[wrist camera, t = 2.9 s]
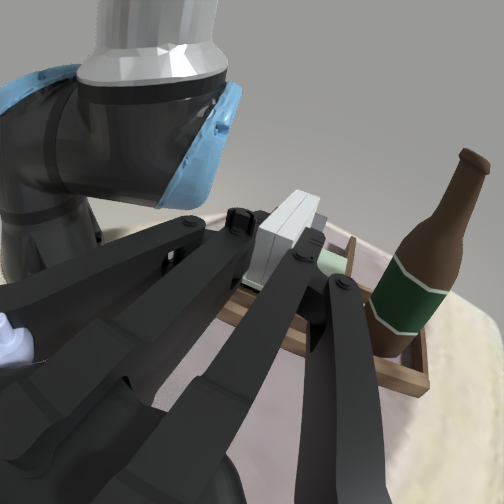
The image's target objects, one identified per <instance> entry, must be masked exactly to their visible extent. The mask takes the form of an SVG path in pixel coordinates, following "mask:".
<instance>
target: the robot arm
mask: <svg viewBox="0 0 504 504" xmlns="http://www.w3.org/2000/svg"><path fill="white" fill-rule="evenodd" d="M218 1H219V0H98V2H97V17H96V46H95V48H94V50H93V51H92V52H91V54H90V55H89V56H88V57H87V58H86V60H85V61H84V62H83V64H71V65H63V66H58V67H53V68H48V69H46V70H43V71H36V72H33V73H30V74H27V75H24V76H22V77H19V78H17V79H15V80H12V81H10V82H8V83H7V84H5V85H3V86H2V87H1V88H0V215H1V220H2V243H1V245H2V267H3V271H4V274H5V276H6V279H7V282H8V284H4V285H0V504H247V502H246V498H245V495H244V491H243V487H242V483H241V480H240V476H239V474H238V472H237V469H236V467H235V466H234V464H233V462H232V461H231V459H230V458H229V457H228V456H227V454H226V451H227V450H228V448H229V446H230V444H231V442H232V441H233V439H234V437H235V435H236V433H237V432H238V430H239V428H240V426H241V424H242V422H243V421H244V419H245V417H246V415H247V413H248V411H249V409H250V407H251V405H252V404H253V402H254V400H255V398H256V396H257V394H258V392H259V390H260V388H261V386H262V384H263V382H264V380H265V378H266V376H267V374H268V372H269V370H270V368H271V366H272V363H273V361H274V359H275V357H276V355H277V353H278V351H279V349H280V347H281V344H282V342H283V340H284V338H285V336H286V334H287V331H288V329H289V327H290V325H291V322H292V320H293V318H294V316H295V313H297V314H298V315H300V316H301V317H302V318H304V319H305V320H307V321H308V322H307V325H306V354H305V377H304V395H303V410H302V423H301V435H300V446H299V456H298V466H297V474H296V483H295V496H294V504H392V502H391V499H390V496H389V494H388V491H387V488H386V482H385V454H384V439H383V426H382V416H381V407H380V398H379V391H378V383H377V376H376V370H375V363H374V357H373V352H372V346H371V340H370V335H369V330H368V325H367V320H366V315H365V311H364V306H363V302H362V297H361V293H360V289H359V286H358V284H357V283H356V282H355V281H354V280H353V279H352V278H351V277H349V276H347V275H344V274H339V273H335V274H332V275H330V276H329V277H328V276H327V275H325V274H324V273H323V272H322V271H321V270H320V269H319V268H318V266H317V260H318V258H319V255H320V253H321V250H322V247H323V245H324V242H325V239H326V238H325V236H324V233H321V232H319V231H316V230H314V229H311V228H310V227H311V224H312V221H313V218H314V215H315V212H316V209H317V206H318V203H319V200H320V198H319V197H317V196H314V195H311V194H308V193H306V192H303V191H300V190H298V189H297V190H295V192H293V193H292V194H291V195H290V196H289V197H288V198H287V199H286V200H285V201H284V202H283V203H282V204H281V205H280V206H279V207H278V208H277V209H276V210H275V211H274V212H273V213H272V214H270V213H267V212H264V211H262V210H259V211H255V212H252V211H250V210H247V209H244V208H230V209H228V212H227V217H226V222H225V227H223V228H222V229H221V230H220V231H213V230H208V229H205V226H206V223H205V221H204V220H203V219H201V218H199V217H197V216H193V215H190V216H181V217H178V218H175V219H172V220H169V221H167V222H164V223H161V224H158V225H155V226H152V227H150V228H147V229H144V230H141V231H139V232H136V233H133V234H131V235H128V236H125V237H123V238H120V239H118V240H115V241H112V242H110V243H107V244H105V245H104V238H103V234H102V231H101V229H100V227H99V225H98V223H97V221H96V218H95V216H94V214H93V212H92V209H91V207H90V204H89V202H88V199H87V197H93V198H99V199H106V200H112V201H118V202H124V203H130V204H136V205H141V206H147V207H153V208H155V209H160V208H170V209H181V210H192V209H195V208H198V207H199V206H201V205H202V204H203V203H204V202H205V201H206V200H207V198H208V195H209V192H210V190H211V186H212V183H213V180H214V177H215V174H216V170H217V167H218V164H219V161H220V158H221V154H222V151H223V148H224V145H225V142H226V138H227V135H228V133H229V130H230V126H231V123H232V120H233V118H234V115H235V112H236V110H237V107H238V103H239V100H240V98H241V95H242V88H241V87H240V86H239V85H237V84H235V83H234V82H233V81H228V82H225V78H226V73H227V67H228V59H227V58H226V57H225V55H224V54H223V53H222V52H221V51H220V50H219V49H218V47H217V46H216V45H215V44H214V43H213V39H212V32H213V27H214V21H215V16H216V10H217V6H218ZM173 250H174V254H173V258H172V259H169V260H168V253H169V252H171V251H173ZM246 271H247V274H246V278H245V279H247V280H249V281H252V282H254V283H256V284H258V285H261V286H263V288H262V290H261V291H260V293H259V294H258V296H257V297H256V299H255V300H254V302H253V303H252V305H251V306H250V308H249V309H248V311H247V312H246V313H245V315H244V316H243V318H242V319H241V321H240V322H239V324H238V325H237V327H236V328H235V330H234V331H233V333H232V334H231V335H230V337H229V338H228V340H227V341H226V343H225V344H224V346H223V347H222V348H221V350H220V351H219V353H218V354H217V356H216V357H215V358H214V360H213V361H212V363H211V364H210V366H209V367H208V368H207V370H206V371H205V372H204V374H203V375H202V376H196V377H195V378H194V379H193V380H192V381H191V382H190V384H189V385H188V386H187V387H186V389H185V390H184V391H183V393H182V394H181V396H180V397H179V398H178V400H177V401H176V402H175V404H174V405H173V406H172V408H171V409H170V410H169V412H165V411H162V410H159V409H157V408H154V407H151V405H152V403H153V400H154V397H155V394H156V392H157V391H158V389H159V388H160V387H161V386H162V384H163V383H164V382H165V381H166V379H167V378H168V377H169V375H170V374H171V373H172V372H173V370H174V369H175V368H176V367H177V365H178V364H179V363H180V362H181V360H182V359H183V358H184V357H185V355H186V354H187V353H188V351H189V350H190V349H191V348H192V346H193V345H194V344H195V343H196V341H197V340H198V339H199V337H200V336H201V335H202V334H203V332H204V331H205V330H206V329H207V327H208V326H209V325H210V323H211V322H212V321H213V320H214V318H215V317H216V316H217V314H218V313H219V312H220V311H221V309H222V308H223V307H224V306H225V304H226V303H227V302H228V300H229V299H230V298H231V297H232V295H233V294H234V293H235V291H236V290H237V289H238V287H239V286H240V285H241V283H242V279H243V275H244V274H245V273H246ZM48 358H50V359H48ZM46 359H48V360H47V361H46V362H44V363H36V364H33V363H35V362H39V361H43V360H46Z"/></svg>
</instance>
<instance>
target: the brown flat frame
mask: <svg viewBox="0 0 504 504" xmlns="http://www.w3.org/2000/svg"><path fill="white" fill-rule="evenodd" d="M277 208H278V207H276V208H275V210H276V209H277ZM275 210H274V211H275ZM274 211H273V212H274ZM273 212H272V213H273ZM272 213H271V214H272ZM355 245H356V238H355V237H352V236H351V238H350V240H349V242H348V244H347V247H346V249H345V252H344V258H346V259H347V265H346V270H345V275H347V276H349V277H351V272H352V266H353V259H354V253H355ZM357 284H358V283H357ZM358 286H359V289H360V293H361V297H362V302H363V303H365V304H366V303H367V301H368V300H369V298H370V296H371V295H372V293H373V291H374V290H372V289H369V288H367V287H365V286H362V285H360V284H358ZM257 296H258V293H256V292H253V291H251V290H249V289H247V288H244V287H242V286H239V287H238V289H237V290H236V291H235V293H234V294H233V295H232V297H231V298H230V299H229V300H230V301H229V300H228V302H227V303H226V304H225V306H224V307H223V308H222V309H221V311H220V312H219V313H218V314H217V316H216V318H218V319H220V320H222V321H224V322H226V323H228V324H230V325H232V326H235V327H237V325H238V324H239V322H240V321H241V319H242V318H243V316H244V315H245V313H246V312H247V311H248V309H249V308H250V306H251V305H252V303H253V302H254V300H255V299H256V297H257ZM238 304H239V305H238ZM240 305H241V306H240ZM242 306H243V307H242ZM307 322H308V321H307V320H305V319H304V318H302V317H301V316H300V315H298V314H297V313H295V316H294V318H293V320H292V322H291V325H290V327H289V329H288V331H287V334H286V336H285V338H284V340H283V342H282V344H281V348H283V349H285V350H288V351H290V352H292V353H295V354H297V355H300V356H302V357H304V358H305V354H306V325H307ZM294 329H295V330H294ZM299 331H300V332H299ZM301 332H302V333H301ZM412 344H413V369H410V368H407V367H404V366H401V365H398V364H396V363H393V362H390V361H387V360H385V359H382V358H379V357H377V356H374V355H373V357H374V363H375V370H376V376H377V383H378V385H379V386H382V387H385V388H388V389H391V390H394V391H398V392H401V393H404V394H407V395H410V396H414V397H417V398H420V397H421V396H422V395H423V394H425V393H426V392H427V391H428V390H429V389H430V381H429V378H428V361H427V348H426V338H425V329H424V327H423V328H422V329H421V330H420V332H419V333H418V334H417V335H416V337H415V338H414V339H413V340H412Z"/></svg>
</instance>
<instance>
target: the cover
mask: <svg viewBox="0 0 504 504" xmlns="http://www.w3.org/2000/svg"><path fill="white" fill-rule="evenodd" d="M327 219H328V218H327V217H325V216H322V215H320V214H317V213H315V215H314V218H313V221H312V224H311V227H310V228H311V229H314V230H316V231H319V232H321V233H322V232H323V229H324V227H325V224H326V221H327ZM346 265H347V259H346V258H344V257H342V256H339V255H337V254H334V253H332V252H330V251H327V250H325V249H322V250H321V253H320V255H319V258H318V260H317V266H318V268H319V269H320V270H321V271H322V272H323V273H324V274H325V275H327V276H328V277H329V276H330V275H332V274H335V273H339V274H344V275H345V270H346ZM246 274H247V271H246V273H245V274H244V275H243V279H242V283H244V284H246V285H248V286H251V287H253V288H255V289H257V290H260V291H261V290H262V288H263V286H261V285H258V284H256V283H254V282H252V281H249V280H247V279H245V278H246Z"/></svg>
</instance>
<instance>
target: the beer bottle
mask: <svg viewBox="0 0 504 504" xmlns="http://www.w3.org/2000/svg"><path fill="white" fill-rule="evenodd" d="M459 158H460V161H459V164H458V166H457V168H456V170H455V173H454V175H453V177H452V179H451V181H450V183H449V186H448V188H447V190H446V192H445V194H444V196H443V198H442V200H441V202H440V204H439V205H438V207H437V209H436V210H435V211H434V213H433V215H432V216H431V217H429V218H428V219H426V220H424V221H423V222H421V223H419V224H418V225H417V226H416V227H415V228H414V229H413V230H412V231H411V232H410V233H409V234H408V235H407V236H406V237H405V238H404V239H403V241H402V242H401V244H400V246H399V247H398V249H397V250H396V252H395V254H394V256H393V257H392V259H391V261H390V263H389V265H388V267H387V269H386V270H385V272H384V274H383V276H382V278H381V279H380V281H379V283H378V285H377V286H376V288H375V290H374V291H373V293H372V295H371V296H370V298H369V300H368V301H367V303H366V305H365V306H364V311H365V315H366V320H367V325H368V330H369V335H370V340H371V346H372V352H373V355H374V356H377V357H379V358H395V357H397V356H398V355H399V354H400V353H401V352H402V351H403V350H404V349H405V348H406V347H407V346H408V345H409V344H410V343H411V341H412V340H413V339H414V338H415V337H416V335H417V334H418V333H419V332H420V330H421V329H422V328H423V327H424V325H425V324H426V323H427V321H428V320H429V319H430V318H431V316H432V315H433V314H434V312H435V311H436V309H437V308H438V307H439V305H440V304H441V302H442V301H443V300H444V298H445V297H446V295H447V294H448V292H449V291H450V289H451V287H452V285H453V284H454V282H455V280H456V278H457V276H458V272H459V269H460V264H461V260H462V254H463V236H464V233H465V230H466V227H467V224H468V222H469V219H470V217H471V214H472V212H473V209H474V207H475V204H476V201H477V199H478V196H479V193H480V190H481V188H482V185H483V182H484V179H485V175H488V174H489V173H490V163H489V162H488V161H487V160H486V159H484V158H483V157H482V156H480V155H478V154H477V153H475V152H473V151H471V150H469V149H467V148H463V149H462V151H461V152H460V154H459Z"/></svg>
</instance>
